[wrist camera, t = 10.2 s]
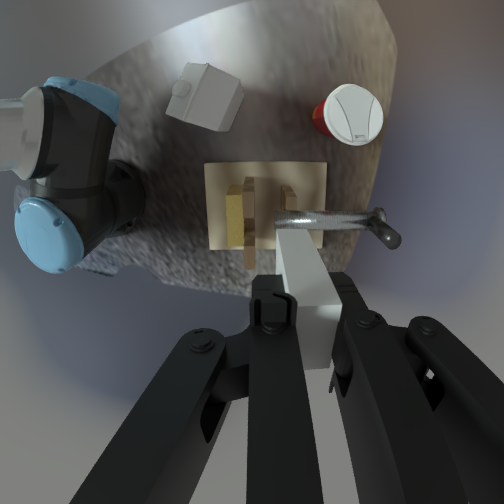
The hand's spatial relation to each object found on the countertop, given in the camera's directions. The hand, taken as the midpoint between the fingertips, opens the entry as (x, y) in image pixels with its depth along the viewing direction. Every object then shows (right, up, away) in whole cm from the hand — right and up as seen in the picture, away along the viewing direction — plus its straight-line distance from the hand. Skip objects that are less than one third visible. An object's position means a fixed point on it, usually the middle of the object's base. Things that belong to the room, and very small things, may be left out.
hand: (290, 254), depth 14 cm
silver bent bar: (+10, +6, +30) cm, 32 cm away
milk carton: (-8, +25, +29) cm, 39 cm away
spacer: (-4, +6, +31) cm, 32 cm away
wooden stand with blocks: (+1, +8, +36) cm, 37 cm away
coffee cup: (+11, +23, +30) cm, 39 cm away
